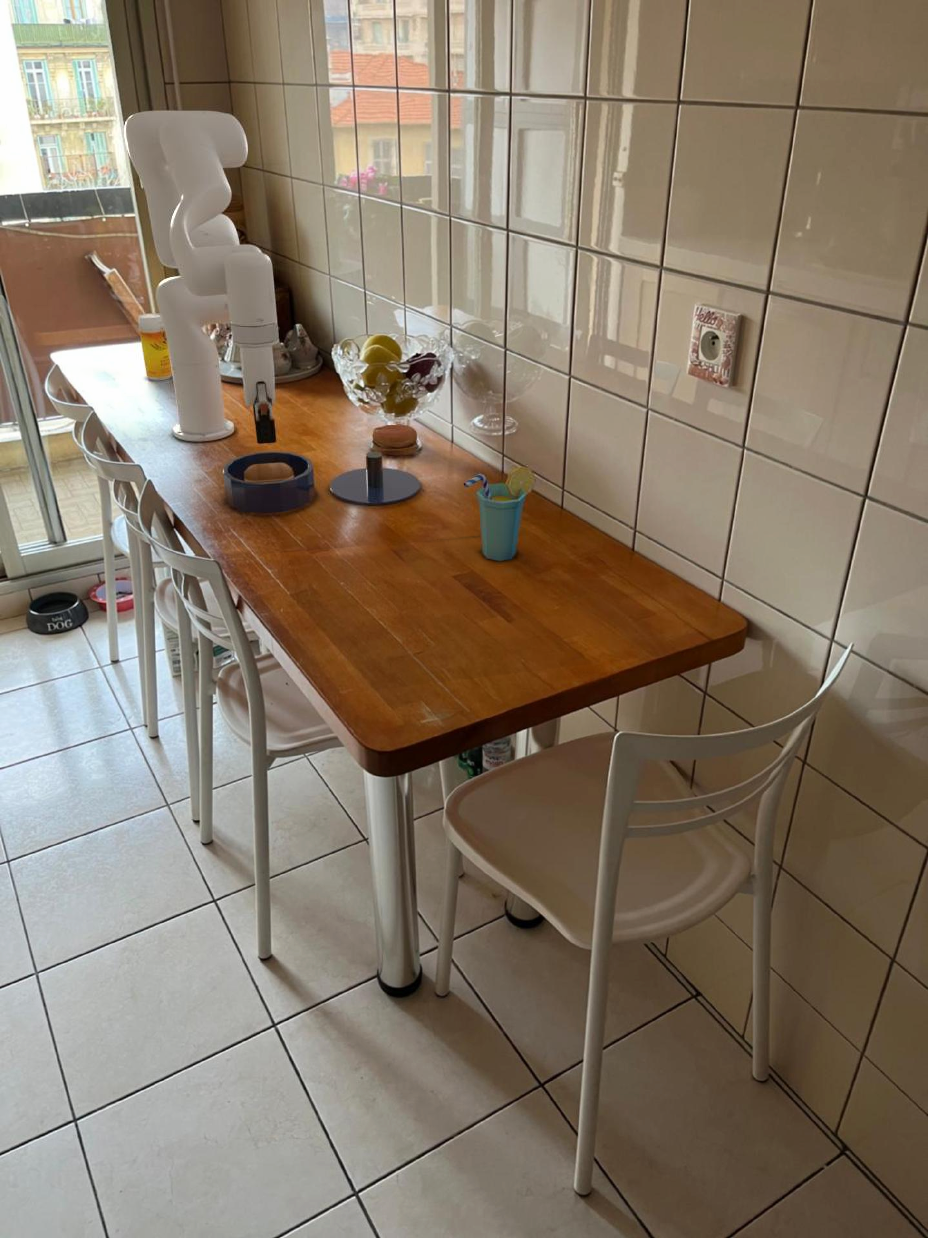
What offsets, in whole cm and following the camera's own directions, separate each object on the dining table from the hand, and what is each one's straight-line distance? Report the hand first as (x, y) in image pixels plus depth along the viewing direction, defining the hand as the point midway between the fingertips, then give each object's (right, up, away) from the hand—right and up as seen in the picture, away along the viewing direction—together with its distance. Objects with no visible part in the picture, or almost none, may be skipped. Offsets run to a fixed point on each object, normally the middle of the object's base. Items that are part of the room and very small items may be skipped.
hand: (265, 433), depth 160 cm
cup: (+40, -22, -11) cm, 47 cm away
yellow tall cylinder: (-41, +28, +69) cm, 85 cm away
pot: (0, -10, +7) cm, 12 cm away
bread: (0, -10, +6) cm, 12 cm away
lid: (+18, -8, +10) cm, 22 cm away
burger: (+20, +2, +29) cm, 35 cm away
